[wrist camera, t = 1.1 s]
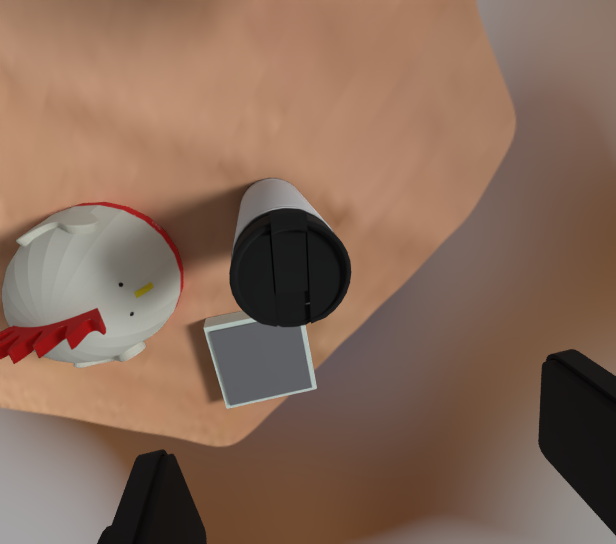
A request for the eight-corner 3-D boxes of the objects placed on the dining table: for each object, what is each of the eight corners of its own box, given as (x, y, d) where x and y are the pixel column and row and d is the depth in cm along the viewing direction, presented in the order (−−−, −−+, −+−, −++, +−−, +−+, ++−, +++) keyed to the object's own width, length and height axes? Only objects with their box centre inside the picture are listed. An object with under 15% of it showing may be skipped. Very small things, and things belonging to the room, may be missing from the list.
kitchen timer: (199, 320, 40) (171, 418, 26) (66, 350, 39) (-38, 467, 25) (158, 188, 35) (96, 220, 21) (5, 218, 34) (-166, 273, 20)
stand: (205, 318, 40) (203, 329, 38) (299, 299, 41) (302, 308, 38) (228, 395, 43) (226, 410, 41) (313, 377, 44) (317, 390, 42)
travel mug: (302, 171, 36) (355, 206, 18) (305, 239, 39) (355, 332, 20) (236, 175, 36) (218, 216, 17) (243, 244, 38) (235, 345, 19)
